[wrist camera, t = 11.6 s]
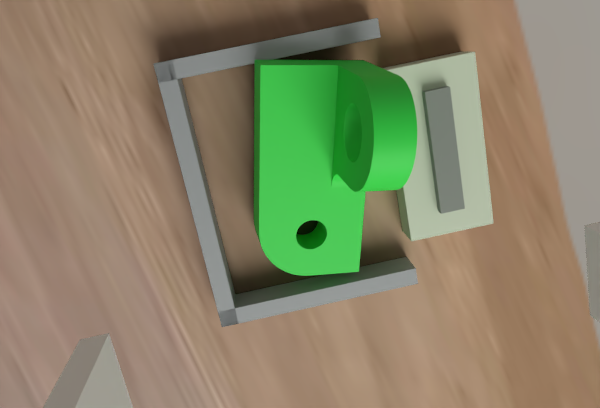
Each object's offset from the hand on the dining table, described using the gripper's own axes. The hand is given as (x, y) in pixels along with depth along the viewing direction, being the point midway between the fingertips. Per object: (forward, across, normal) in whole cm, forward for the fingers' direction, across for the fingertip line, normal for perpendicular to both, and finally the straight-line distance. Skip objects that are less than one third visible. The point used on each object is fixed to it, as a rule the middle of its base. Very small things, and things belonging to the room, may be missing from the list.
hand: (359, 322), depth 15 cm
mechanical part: (+18, +1, 0) cm, 19 cm away
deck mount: (+19, 0, 0) cm, 19 cm away
